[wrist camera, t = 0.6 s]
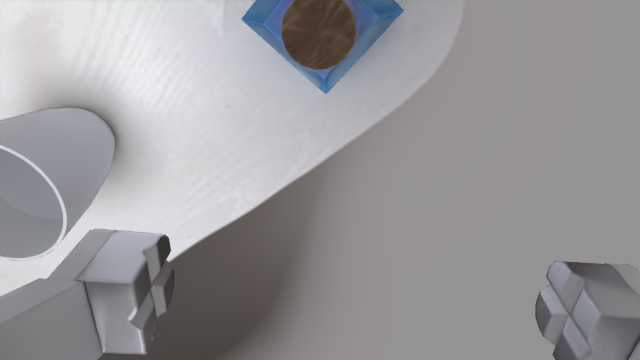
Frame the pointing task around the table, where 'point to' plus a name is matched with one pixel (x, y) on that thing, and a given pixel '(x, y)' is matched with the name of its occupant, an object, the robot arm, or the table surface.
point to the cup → (49, 176)
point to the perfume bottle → (321, 32)
